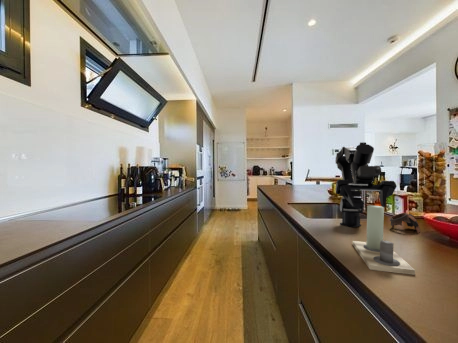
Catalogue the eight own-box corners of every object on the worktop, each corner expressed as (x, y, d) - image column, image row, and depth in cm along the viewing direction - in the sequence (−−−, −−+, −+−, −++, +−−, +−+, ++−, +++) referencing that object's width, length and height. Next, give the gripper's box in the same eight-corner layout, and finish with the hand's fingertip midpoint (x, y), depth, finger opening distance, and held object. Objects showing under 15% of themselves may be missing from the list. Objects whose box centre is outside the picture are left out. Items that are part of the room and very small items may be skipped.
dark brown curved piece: (419, 236, 91) (406, 217, 92) (394, 240, 98) (383, 222, 100) (427, 223, 98) (415, 206, 99) (404, 228, 105) (393, 212, 107)
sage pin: (363, 245, 74) (364, 205, 74) (375, 245, 75) (376, 205, 74) (372, 250, 70) (374, 208, 70) (386, 250, 70) (387, 208, 70)
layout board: (352, 244, 80) (352, 226, 79) (385, 247, 77) (386, 228, 76) (369, 269, 60) (370, 245, 60) (415, 274, 58) (415, 249, 57)
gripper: (337, 158, 86) (342, 191, 76) (395, 158, 81) (408, 193, 70) (333, 178, 94) (337, 210, 84) (386, 178, 88) (397, 213, 78)
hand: (368, 206), depth 79 cm, fingers open, 9 cm apart
